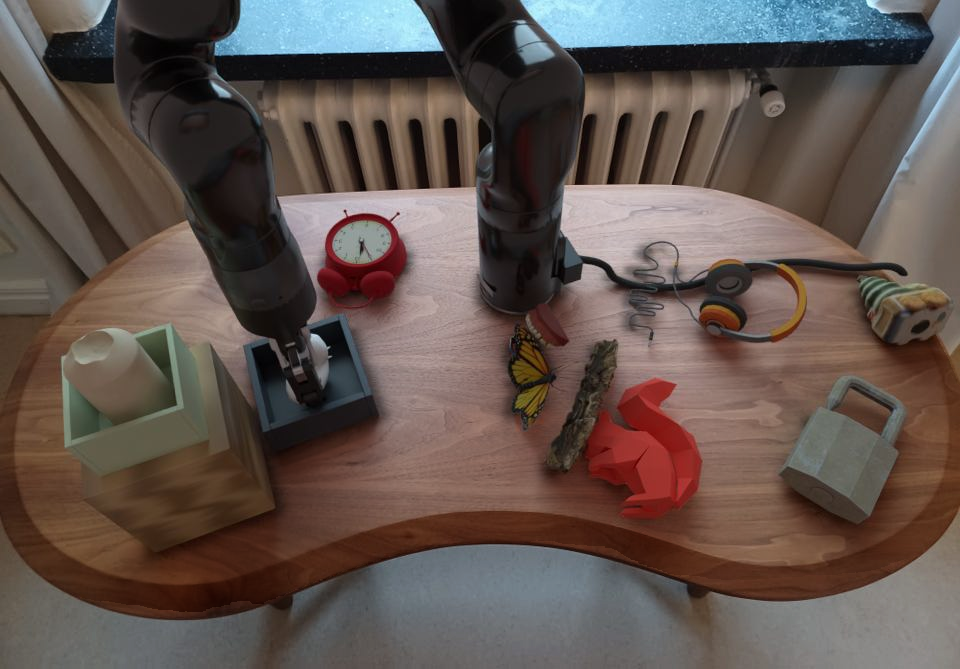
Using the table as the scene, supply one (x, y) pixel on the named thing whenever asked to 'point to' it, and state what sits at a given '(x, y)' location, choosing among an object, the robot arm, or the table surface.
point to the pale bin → (148, 434)
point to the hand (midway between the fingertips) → (308, 372)
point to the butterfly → (529, 377)
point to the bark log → (584, 408)
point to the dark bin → (342, 389)
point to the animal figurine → (646, 452)
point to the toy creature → (321, 367)
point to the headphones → (723, 312)
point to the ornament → (904, 309)
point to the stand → (192, 472)
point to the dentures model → (543, 329)
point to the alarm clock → (362, 257)
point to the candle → (117, 376)
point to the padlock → (845, 454)
